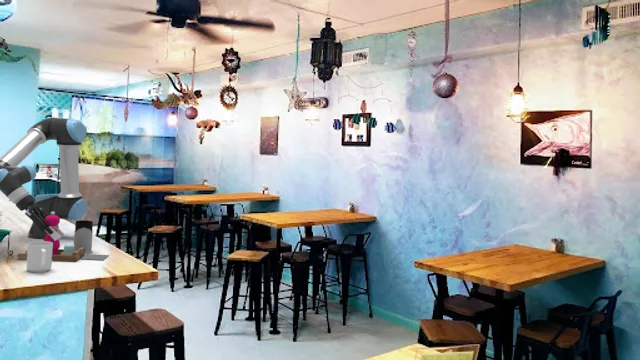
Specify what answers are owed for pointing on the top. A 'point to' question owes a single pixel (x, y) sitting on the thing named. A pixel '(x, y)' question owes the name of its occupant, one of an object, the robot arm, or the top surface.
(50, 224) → the pepper mill
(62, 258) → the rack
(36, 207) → the robot arm
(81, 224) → the glass holder
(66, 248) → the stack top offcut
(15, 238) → the top surface
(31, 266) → the mug
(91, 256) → the mat
